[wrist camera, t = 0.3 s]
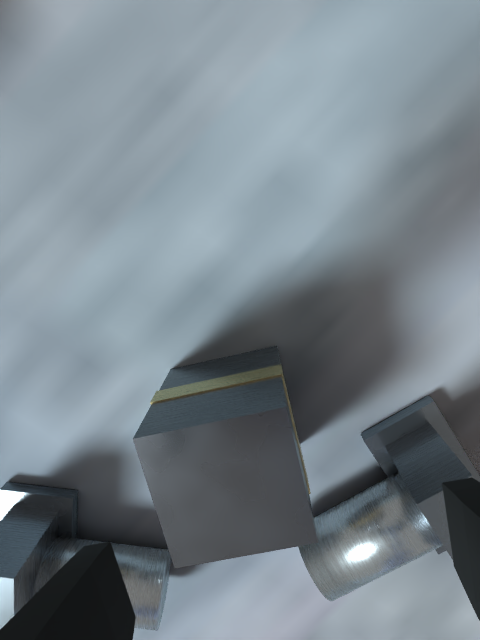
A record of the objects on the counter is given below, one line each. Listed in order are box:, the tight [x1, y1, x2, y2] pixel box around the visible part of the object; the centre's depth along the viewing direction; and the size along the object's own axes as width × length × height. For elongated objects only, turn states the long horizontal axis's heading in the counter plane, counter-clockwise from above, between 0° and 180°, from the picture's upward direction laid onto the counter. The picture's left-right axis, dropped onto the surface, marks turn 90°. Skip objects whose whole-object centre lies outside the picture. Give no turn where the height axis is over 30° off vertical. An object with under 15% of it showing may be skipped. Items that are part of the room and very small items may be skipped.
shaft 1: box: [0, 482, 171, 631], centre depth 19 cm, size 8×6×4 cm
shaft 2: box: [298, 395, 480, 601], centre depth 18 cm, size 8×6×4 cm
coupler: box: [133, 346, 318, 568], centre depth 16 cm, size 5×5×6 cm
